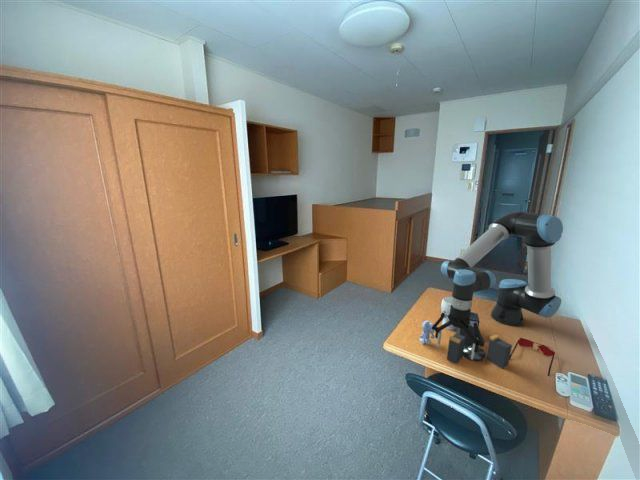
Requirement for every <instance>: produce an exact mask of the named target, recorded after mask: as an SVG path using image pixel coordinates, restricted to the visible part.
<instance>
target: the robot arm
mask: <svg viewBox="0 0 640 480" xmlns="http://www.w3.org/2000/svg"><path fill="white" fill-rule="evenodd" d="M563 231H564V226H563V222H562V220H561V219H560V218H559V217H558V216H555V215H550V214H547V213H546V214H545V213H534V212H533V213H532V212H526V211H513V212H510V213H507V214H504V215H502V216H500V217H499V218H497V219H495V220H494V221H492V223H490V224H489V226H488V229H487V230H486V231H485V232H484V233H483V234H481V236H479V237H478V238H477V239H475V240H474V242H472V244H471V245H469V246H468V247H467V248H466V249H465V250H464V251H463V252H462V253H461V254H459V255H458V256H457V257H456V258H455V259H453V260H444V261H443V263H442V264H441V266H440V272H441V275H443V276H444V277H446V278H449V279H451V280H452V281H453V283H452V284H453V285H452V293H451V297H452V298H451V306H450V314H447V313H446V312H445V311H443V312H442V311H441V314H440V317H439V318H438V319H437V320H436V322H435V323H433V324H434V325H433V326H432V329H433V330H435V331H434V332H435V334H434V339H436V340H437V341H436V347H439V346H440V344H441V339H442V333H443V332H442V331H443V330H444V329H446V327H448V326H450V325H453V326H454V327H458V328H461V329H462V328H463V329H464V330H465V331H466V332H467V334H468V335H469V337H470V338H471V340H472V341H473V343H474V344H473V347H472V354H471V359H472V360H473V358H474V353H475V352H476V353H477V352H478V348H479V347H481V348H483V347H484V345H485V343H486V342H485V339H484V338H483V334H482V333H481V332H482V331H481V329H480V327H478V321H470V312H472V310H471V308H472V303H473V298H474V297H473V296H474V293H476V292H479V291H480V292H481V291H483V290H484V291H485V290H488V289H491V288H493V287H495V286H496V283H497V277H496V275H495V274H494V273H493V272H492V271H489V270H477V269H474V268H473V267H474V266H475V265H476V264H477V263H478V262H480V261H481V260H482V258H484V257H485V256H486V255H487V254H488V253H489V252H490V251H492V250H493V249H494V248H495V247H496V246H497V245H499V243H500V242H501V241H502V240H506V239H508V238H509V237H510V236H512V237H513V236H515V237H520V238H522V243H523V245H525V247H526V249H527V250H526V251H527V252H526V253H527V257H526V258H527V277H528V278H527V281H528V283H527V282H526V281H524V280H521V279H516V278H515V279H514V278H506V279H502V280H500V281H499V285H498V290H497V291H498V292H497V299H496V303H495V305H494V306H493V308H492V310H491V311H490V317H491V318H492V319H493V320H495V321H496V322H498V323H500V324H503V325H507V326H510V327H511V326H512V327H519V326H522V325H523V324H524V321H525V320H524V319H525V318H524V315H523V310H526V311H527V312H531V313H533V314H535V315H537V316H540V317H543V318H547V319H549V318H551V317H553V316H554V315H555V314H557V312H558V311H559V308H560V307H561V304H562V299H561V298H560V297H559V296H556V291H555V288H553V287H552V247H553V246H554V245H556V244H557V243H558V241H560V240H561V238H562V234H563V233H564V232H563ZM446 317H448V318H449V321H448V322H446V323H445V324H443V325H442V324H441V325H440V323H441V322H443V319H444V318H446ZM469 324H471V325H472V327H474V331H475V333H476V336H477V338H476V336H475V335H474V333H473V332H472V330H471V329H470V327H469ZM439 325H440V326H439Z"/></svg>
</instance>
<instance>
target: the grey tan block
mask: <svg viewBox="0 0 640 480" xmlns="http://www.w3.org/2000/svg"><path fill="white" fill-rule="evenodd" d="M469 327H470V329H471V330H472V332H473V333H474V335H476V333H475V331H474V327H472V325H471V324H469ZM456 333H457V334H459V335H462V336H464V337H466V338H465V344H466V343H469V344H474V343H473V341H472V340H471V338H470V337H469V335H468V334H467V332H466V331H465V330H464V329H463V328H462V329H461V328H458V327H457V330H456ZM456 333H455V334H456Z"/></svg>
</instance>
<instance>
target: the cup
mask: <svg viewBox="0 0 640 480" xmlns="http://www.w3.org/2000/svg"><path fill="white" fill-rule="evenodd" d="M451 298H452V296H446V297H444V298H442V300H441V305H440V310H441V313H442V312H443V311H445V312H446V313H447V314H450V306H451ZM448 321H449V318H448V317H446V318H443V320H442V321H441V322H442V323H441V325H443V324H445V323H446V322H448ZM445 330H450V331H457V327H454V326H453V325H450V326H448V327H446V328H445Z"/></svg>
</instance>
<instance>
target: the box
mask: <svg viewBox="0 0 640 480" xmlns="http://www.w3.org/2000/svg"><path fill="white" fill-rule="evenodd" d="M470 321H478V327H479V326H480V318H479V314H478V312H472V311H471V312H470ZM479 328H480V327H479ZM475 336H476V335H475ZM476 338H477V336H476ZM477 339H478V338H477Z"/></svg>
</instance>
